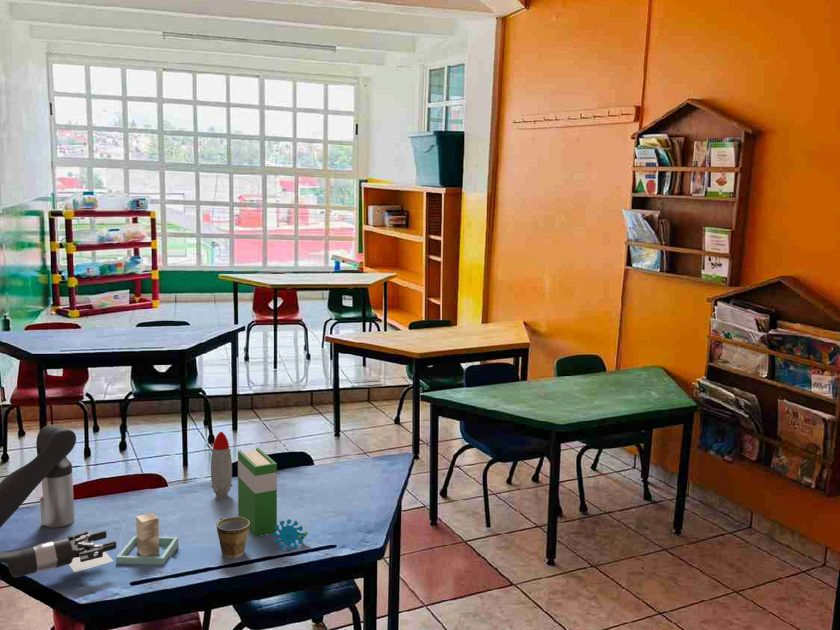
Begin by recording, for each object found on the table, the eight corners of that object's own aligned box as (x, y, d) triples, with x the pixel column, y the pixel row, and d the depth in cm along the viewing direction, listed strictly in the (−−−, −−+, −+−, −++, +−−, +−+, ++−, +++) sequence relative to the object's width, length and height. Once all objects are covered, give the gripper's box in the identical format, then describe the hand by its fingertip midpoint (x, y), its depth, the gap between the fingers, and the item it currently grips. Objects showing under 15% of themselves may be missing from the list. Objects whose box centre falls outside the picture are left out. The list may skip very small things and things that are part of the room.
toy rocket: (224, 490, 279) (224, 426, 275) (236, 497, 274) (235, 432, 270) (206, 495, 274) (205, 430, 270) (218, 502, 268) (217, 436, 264)
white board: (74, 577, 213) (74, 572, 213) (63, 562, 221) (63, 557, 221) (113, 565, 220) (113, 561, 220) (101, 552, 229) (101, 547, 228)
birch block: (142, 559, 222) (141, 522, 221) (137, 553, 226) (136, 516, 224) (159, 555, 226) (158, 518, 224) (153, 549, 229) (152, 512, 228)
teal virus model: (272, 548, 231) (274, 517, 237) (269, 554, 235) (271, 524, 241) (307, 549, 234) (308, 519, 240) (304, 556, 239) (304, 525, 244)
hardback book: (238, 517, 257) (237, 450, 253) (258, 512, 260) (258, 447, 257) (255, 537, 242) (254, 467, 238) (276, 532, 246) (276, 463, 242)
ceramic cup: (256, 554, 230) (255, 524, 229) (227, 564, 223) (227, 533, 222) (234, 540, 239) (234, 510, 238) (206, 549, 232) (205, 519, 231)
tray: (116, 568, 219) (115, 557, 219) (134, 546, 233) (133, 535, 232) (163, 569, 219) (163, 558, 219) (178, 547, 233) (178, 537, 233)
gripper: (45, 557, 213) (103, 542, 224) (59, 577, 202) (119, 560, 213) (44, 533, 212) (102, 519, 222) (58, 551, 201) (118, 535, 212)
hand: (110, 539), depth 218 cm, fingers open, 8 cm apart
